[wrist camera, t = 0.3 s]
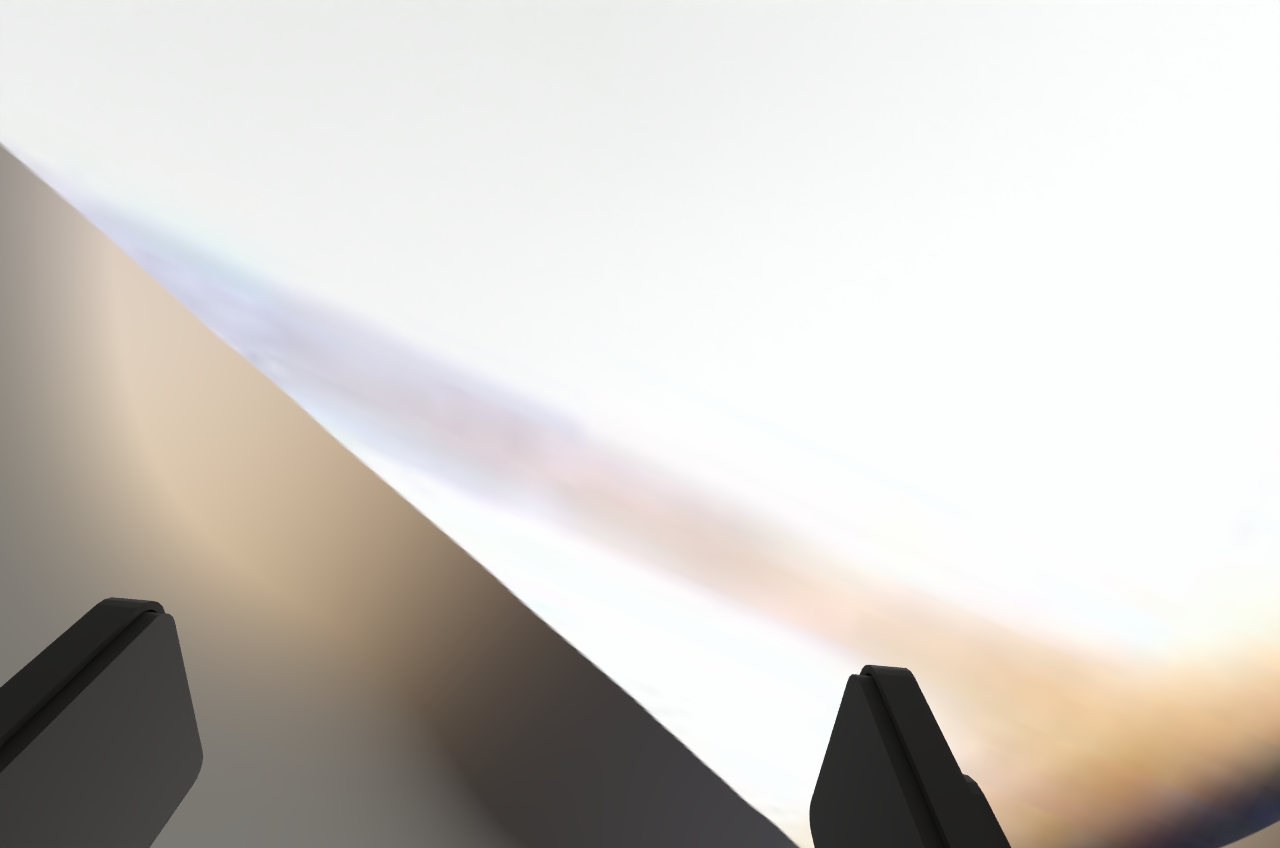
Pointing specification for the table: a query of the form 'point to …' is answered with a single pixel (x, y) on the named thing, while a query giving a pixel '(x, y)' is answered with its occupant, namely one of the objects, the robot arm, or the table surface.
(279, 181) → the table surface
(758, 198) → the table surface
